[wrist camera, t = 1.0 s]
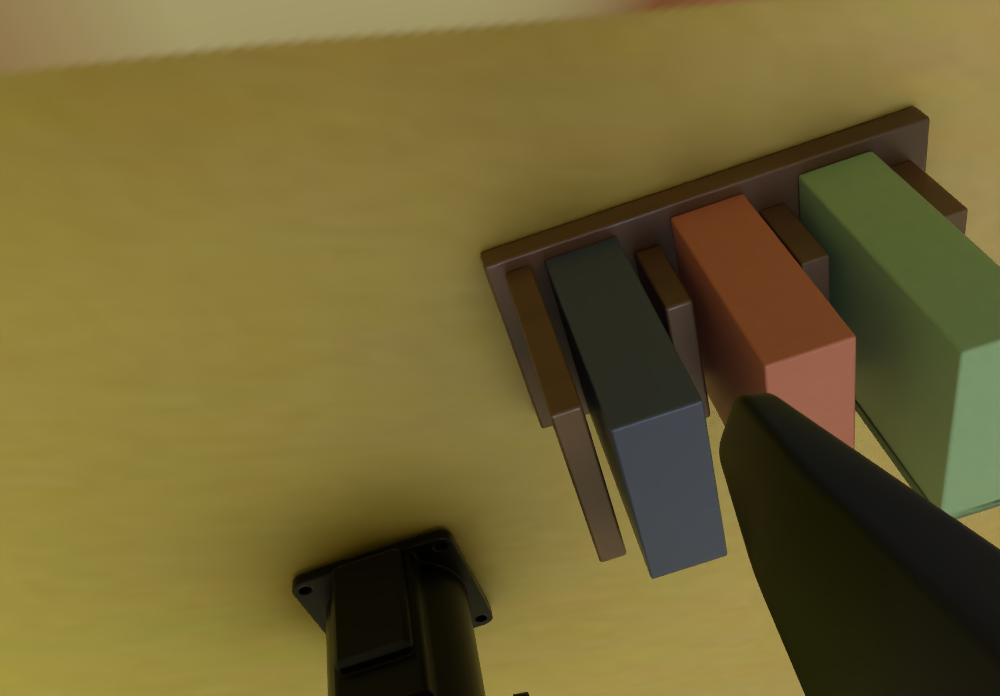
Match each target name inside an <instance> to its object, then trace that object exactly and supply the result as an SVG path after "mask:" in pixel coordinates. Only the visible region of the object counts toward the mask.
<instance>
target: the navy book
mask: <svg viewBox="0 0 1000 696" xmlns="http://www.w3.org/2000/svg"><path fill="white" fill-rule="evenodd" d="M545 266H546V269H547V273H548V276H549V279H550V283H551V286H552V290H553V293H554V296H555V300H556V303H557V306H558V310H559V313H560V316H561V320H562V323H563V327H564V330H565V333H566V337H567V340H568V343H569V347H570V350H571V354H572V357H573V360H574V364H575V367H576V370H577V374H578V377H579V380H580V384H581V387H582V391H583V394H584V397H585V401H586V404H587V407H588V410H589V413H590V415H591V418H592V421H593V423H594V426H595V429H596V431H597V434H598V437H599V439H600V442H601V445H602V448H603V450H604V453H605V456H606V458H607V461H608V464H609V466H610V469H611V472H612V474H613V477H614V480H615V482H616V485H617V488H618V490H619V493H620V496H621V499H622V501H623V504H624V507H625V509H626V512H627V515H628V517H629V520H630V523H631V525H632V528H633V531H634V533H635V536H636V539H637V541H638V544H639V547H640V550H641V552H642V555H643V558H644V560H645V563H646V566H647V568H648V571H649V574H650V576H651V578H652V579H654V578H657V577H660V576H664V575H667V574H670V573H673V572H676V571H679V570H682V569H686V568H689V567H692V566H695V565H698V564H701V563H704V562H708V561H711V560H714V559H717V558H720V557H723V556H726V555H727V548H726V542H725V536H724V530H723V524H722V517H721V511H720V505H719V499H718V493H717V486H716V480H715V474H714V468H713V462H712V455H711V449H710V443H709V437H708V431H707V425H706V418H705V412H704V406H703V400H702V398H701V397H700V395H699V393H698V391H697V389H696V387H695V385H694V383H693V381H692V379H691V378H690V376H689V374H688V372H687V370H686V368H685V366H684V364H683V362H682V360H681V358H680V357H679V355H678V353H677V351H676V349H675V347H674V345H673V343H672V341H671V339H670V338H669V336H668V334H667V332H666V330H665V328H664V326H663V324H662V322H661V320H660V319H659V317H658V315H657V313H656V311H655V309H654V307H653V305H652V303H651V301H650V300H649V298H648V296H647V294H646V292H645V290H644V288H643V286H642V284H641V282H640V281H639V279H638V277H637V275H636V273H635V271H634V269H633V267H632V265H631V263H630V261H629V260H628V258H627V256H626V254H625V252H624V250H623V248H622V246H621V244H620V242H619V241H618V239H617V237H612V238H609V239H607V240H604V241H601V242H598V243H595V244H592V245H589V246H586V247H583V248H580V249H577V250H574V251H571V252H568V253H565V254H562V255H559V256H556V257H553V258H550V259H547V260H545Z"/></svg>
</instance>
